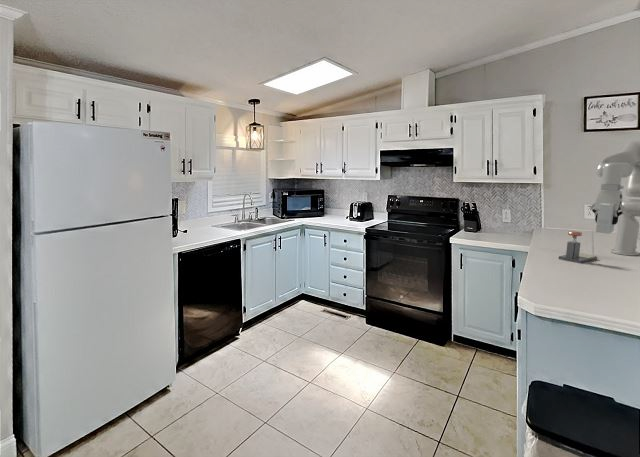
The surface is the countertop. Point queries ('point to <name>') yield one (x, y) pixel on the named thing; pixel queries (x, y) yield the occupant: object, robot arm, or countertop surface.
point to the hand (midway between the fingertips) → (605, 223)
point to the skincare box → (605, 218)
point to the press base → (576, 254)
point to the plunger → (574, 235)
